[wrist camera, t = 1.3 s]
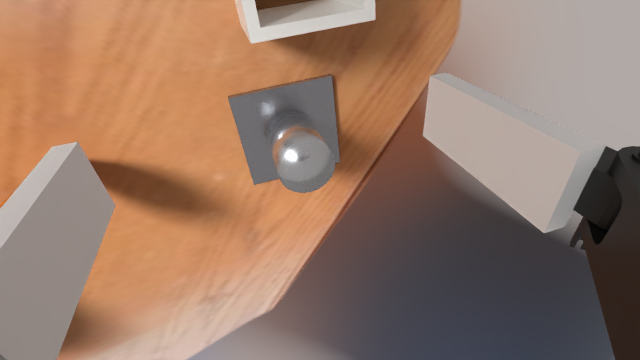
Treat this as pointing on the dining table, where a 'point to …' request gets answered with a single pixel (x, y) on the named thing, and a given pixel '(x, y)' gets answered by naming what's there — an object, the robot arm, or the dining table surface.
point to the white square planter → (301, 17)
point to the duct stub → (289, 132)
